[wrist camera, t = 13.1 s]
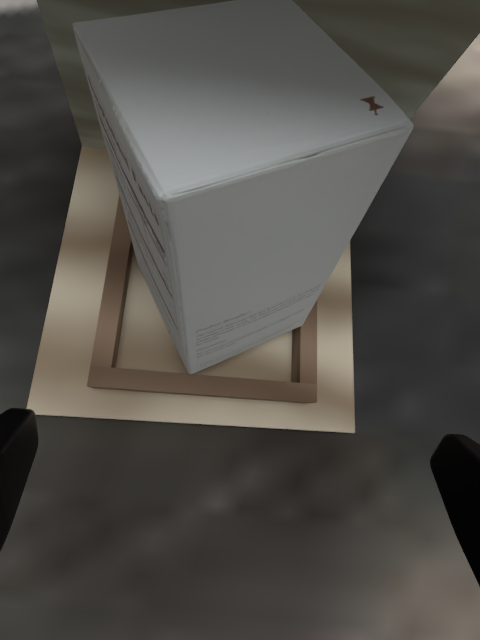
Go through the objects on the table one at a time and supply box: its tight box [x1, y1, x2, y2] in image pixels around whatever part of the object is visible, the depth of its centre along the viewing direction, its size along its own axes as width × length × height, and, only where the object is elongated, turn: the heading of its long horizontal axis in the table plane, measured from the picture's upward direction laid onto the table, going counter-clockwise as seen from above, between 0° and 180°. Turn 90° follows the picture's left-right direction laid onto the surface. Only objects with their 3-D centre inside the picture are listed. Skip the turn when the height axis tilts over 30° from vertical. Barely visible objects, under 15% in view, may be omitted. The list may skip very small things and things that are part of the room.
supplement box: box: [72, 0, 413, 375], centre depth 15 cm, size 7×7×13 cm
